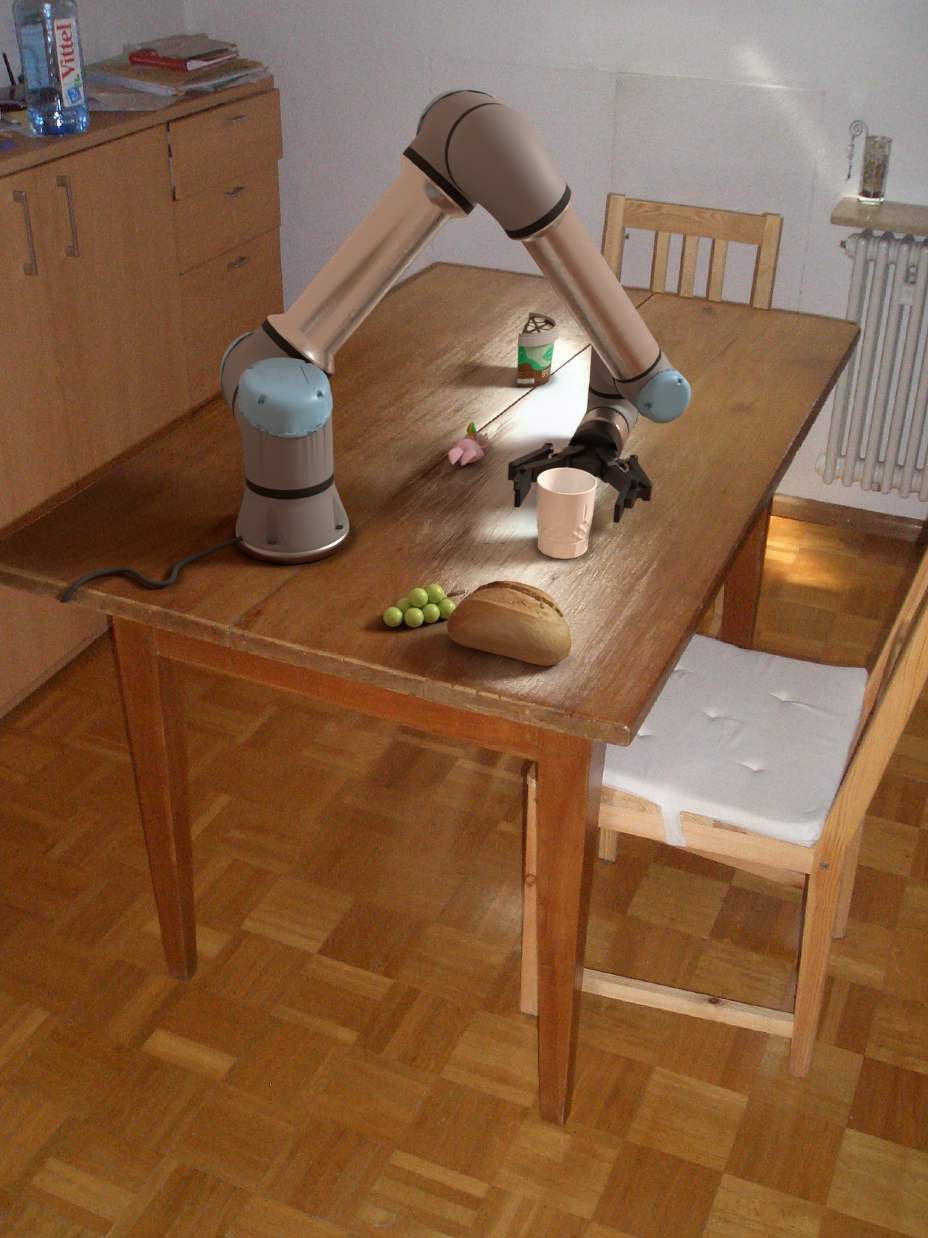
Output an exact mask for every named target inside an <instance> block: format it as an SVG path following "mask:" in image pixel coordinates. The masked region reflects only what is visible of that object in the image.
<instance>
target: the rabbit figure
mask: <svg viewBox="0 0 928 1238" xmlns="http://www.w3.org/2000/svg"><path fill="white" fill-rule="evenodd" d="M489 441H490V440H489V437H488V431H486V432H485V433H484V434H483V433H479V432H478V431H477V429H476V426H475V422H474V421H470V423H469V424H468V426H467V427H466V434H465V435H464V438H462V439H460V440H459V441H458V440H457V439H453V440H452V443H453V444H454V446H452V448H451V449H450V450H449V451H448V453H447V457H448V460H449V462H450V464H451V465H454V464H455V463H457V462H459V463H460V466H465V465H468V464H470V463H473V462H474V463H475V462H477V461H479V460H481V459H483V457H484V456H485V453H484V451H483V450H484V449H491V448H493V444H492V443H489V444H488V442H489Z"/></svg>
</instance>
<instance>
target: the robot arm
mask: <svg viewBox="0 0 928 1238" xmlns="http://www.w3.org/2000/svg"><path fill="white" fill-rule="evenodd" d="M572 200H573V191H572V190H571V188H570V186H569V185H568V183H567V182H566V180H565V179H564V176H563V175H562V173H561V171H560V170H559V168H558V166H557V164H556V163H555V161H554V159H553V157H552V155H551V154H550V152H549V151H548V149H547V147H546V145H545V143H544V142H543V140H542V139H541V137H540V135H539V133H538V132H537V130H536V129H535V128H534V126H533V125H532V123H531V122H530V121H529V119H528V118H527V117H526V116H525V115H523V114H522V113H520V112H519V111H517V110H516V109H514V108H512V107H510V106H508V105H506V104H505V103H503V102H501V101H500V100H499V99H497V98H496V97H494V96H493V95H492V94H490V93H487V92H485V91H483V90H480V89H474V88H467V87H458V88H451V89H448V90H446V91H443V92H442V93H440V94H438V95H437V96H435V97H434V98H433V99H432V100H430V101H429V103H428V104H427V105H426V106H425V108H424V109H423V110H422V112H421V114H420V116H419V119H418V122H417V125H416V132H415V137H414V139H413V140H411V142H410V143H409V145H408V146H407V147H406V149H405V150H404V151H403V152H402V153H401V154H400V174H399V176H397V178H396V179H395V180H394V182H393V183H392V184H391V185H390V186H389V188H388V189H387V190H386V191H385V192H384V193H383V195H382V196H381V197H380V199H378V201H377V202H376V204H375V205H374V206H373V207H372V209H371V210H369V212H368V213H367V214H366V215H365V217H364V218H363V219H362V221H361V222H360V223H359V224H358V225H357V226H356V228H355V229H354V230H353V231H352V232H351V233H350V234H349V236H348V237H347V238H346V240H344V242H343V243H342V244H341V246H340V247H339V248H338V249H337V251H335V253H334V254H333V255H332V257H330V259H329V260H328V261H327V263H326V264H325V265H324V266H323V267H322V269H321V270H320V271H319V272H318V273H317V274H316V276H315V277H314V278H313V279H312V280H311V282H310V283H309V284H308V285H307V287H306V288H305V289H304V290H303V291H302V293H301V294H300V295H299V296H298V298H296V300H295V301H294V303H293V304H292V305H291V306H290V307H289V308H288V310H287V311H286V312H284V313H278V314H276V313H275V314H269V315H268V316H267V317H266V318H265V320H263V322H262V323H260V325H259V326H258V328H257V329H256V330H253V331H248V332H245V333H243V334H242V335H240V336H238V337H237V338H235V339H234V340H233V341H232V342H231V343H230V345H229V346H228V347H227V349H226V351H225V352H224V354H223V356H222V359H221V362H220V366H219V380H220V381H219V382H220V387H221V393H222V397H223V399H224V401H225V403H226V405H227V406H228V407H229V409H230V412H231V414H232V416H233V418H234V421H235V423H236V425H237V427H238V429H239V432H240V435H241V441H242V452H243V465H244V475H245V490H244V494H243V497H242V501H241V504H240V508H239V512H238V516H237V519H236V524H235V537H233V538H231V539H229V540H227V541H224V542H222V543H219V544H217V545H215V546H212V547H210V548H208V549H205V550H202V551H199V552H197V553H194V554H192V555H189V556H187V557H185V558H183V559H182V560H180V561H178V562H177V563H176V564H175V565H174V566H173V568H172V570H171V573H170V577H169V578H168V579H166V580H161V581H155V580H151V579H150V578H148V577H146V576H145V575H143V574H142V573H141V572H140V571H137V570H136V569H134V568H131V567H126V566H124V567H110V568H104V569H99V570H95V571H92V572H89V573H87V574H85V575H83V576H82V577H80V578H79V579H78V580H76V582H75V583H73V584H72V585H71V587H69V589H68V590H67V592H65V594H64V595H63V596H62V598H61V600H60V604H65V603H67V602H69V600H70V599H71V597H72V596H73V595H74V594H75V593H76V592H77V590H79V588H80V587H81V586H83V585H84V584H86V582H88V581H89V580H91V579H94V578H97V577H100V576H105V575H109V574H110V575H112V574H121V573H123V574H129V575H132V576H133V577H135V578H137V579H138V580H139V581H140V582H141V583H143V584H145V585H147V586H149V587H152V588H164V587H168V586H171V585H173V584H174V583H175V582H176V579H177V576H178V573H179V570H180V569H181V568H183V567H184V566H186V565H187V564H190V563H192V562H194V561H196V560H199V559H202V558H205V557H207V556H210V555H212V554H214V553H216V552H220V551H221V550H224V549H226V548H229V547H231V546H234V545H235V544H237V546H238V548H239V549H240V550H241V551H242V552H243V553H244V554H246V555H248V556H250V557H252V558H254V559H256V560H260V561H261V562H262V561H263V562H267V563H273V564H283V565H294V564H295V565H296V564H307V563H311V562H316V561H319V560H323V559H326V558H328V557H331V556H332V555H335V554H336V553H338V552H339V551H342V549H343V548H344V547H345V546H346V545H347V544H348V542H349V540H350V536H351V535H350V532H351V531H350V530H351V529H350V520H349V517H348V514H347V512H346V510H345V507H344V505H343V502H342V499H341V497H340V494H339V492H338V489H337V487H336V485H335V466H334V465H335V464H334V437H333V436H334V435H333V409H334V407H333V406H334V401H333V400H334V399H333V394H332V391H331V385H330V379H331V377H332V376H333V375H334V374H335V372H336V369H335V356H336V354H337V353H338V352H339V350H340V349H341V348H342V347H343V346H344V345H345V344H346V343H347V341H348V340H349V339H350V338H351V336H352V335H353V334H354V333H355V332H356V331H357V329H359V327H360V326H361V325H362V324H363V322H364V321H365V320H366V318H368V316H369V315H370V314H371V313H372V312H373V311H374V309H375V308H376V307H377V306H378V304H379V303H380V302H381V301H382V299H384V297H386V296H387V294H388V293H389V292H390V290H391V289H393V287H394V286H395V284H397V282H398V281H399V280H400V278H401V277H402V276H403V275H404V274H405V273H406V271H408V269H409V268H410V267H411V265H412V264H413V263H414V262H415V261H416V260H417V259H418V258H419V256H420V255H421V254H422V252H423V251H424V250H425V249H426V248H427V247H428V245H429V244H430V243H431V242H432V241H433V240H434V239H435V238H436V236H437V235H438V234H439V232H440V231H442V229H443V228H444V227H445V226H446V224H448V222H449V221H450V220H453V219H465V218H467V217H468V216H469V215H470V214H471V213H472V211H473V210H474V209H475V208H476V207H477V206H478V205H480V206H481V208H482V209H484V210H485V211H486V212H488V213H489V214H490V216H492V218H493V219H494V220H495V221H496V222H497V223H498V224H499V226H500V227H501V228H502V230H503V231H504V232H505V234H506V236H507V237H508V238H509V239H510V240H512V241H519V242H521V243H522V245H523V246H524V248H525V249H526V251H527V252H528V253H529V255H530V256H531V258H532V259H533V261H534V262H535V263H536V265H537V267H538V269H540V271H541V273H542V275H544V277H545V278H546V280H547V281H548V283H549V284H550V286H551V287H552V289H553V290H554V292H555V293H556V294H557V296H558V297H559V299H560V300H561V302H562V303H563V306H565V308H566V309H567V311H568V312H569V313H570V315H571V317H572V318H573V320H574V321H575V322H576V324H577V325H578V327H579V328H580V330H581V331H582V333H583V335H584V336H585V337H586V338H587V340H588V341H589V343H590V347H591V348H590V366H589V383H588V389H587V401H586V410H585V413H584V415H583V417H582V419H581V421H580V423H578V425H577V427H576V429H575V431H574V433H573V434H572V436H571V438H570V440H569V442H568V445H567V446H566V447H564V448H562V449H558V448H555V447H554V443H553V442H545V443H544V444H543V445H542V446H541V447H540V448H538V449H535V450H533V451H531V452H528V453H526V454H524V455H522V456H520V457H518V458H516V459H513V460H511V461H509V462H508V464H507V480H508V481H509V482H512V483H513V484H512V485H513V486H512V490H513V492H514V496H513V497H514V498H513V508H517V509H519V508H520V507H521V506H522V504H523V502H524V500H525V498H526V497H527V495H528V494H529V492H530V490H531V489H532V484H533V483H537V477H538V476H539V475H540V474H541V473H542V472H544V471H546V470H550V469H554V468H574V469H579V470H582V471H585V472H588V473H590V474H591V475H593V476H594V477H595V478H596V479H597V478H598V479H599V480H600V481H601V482H602V483H604V484H609V485H610V486H611V487H612V488H613V489H615V490H616V491H617V492H618V493H619V494H618V496H617V498H616V501H615V503H614V509H613V520H612V523H615V524H619V523H620V522H621V519H622V516H623V514H624V512H625V509H629V510H631V509H633V508H634V506H635V503H636V502H637V500H638V499H641V501H644V502H650V501H651V499H652V493H653V492H652V491H653V482H652V481H651V480H650V479H651V478H649V476H648V475H647V473H646V472H645V470H644V469H643V468H642V466H641V464H640V463H639V456H638V455H637V454H630V455H629V457H627V458H621V455H622V452H623V451H624V449H625V446H626V444H627V442H628V439H629V437H630V435H631V433H632V431H633V429H635V425H636V424H638V420H639V415H641V416H642V417H644V418H646V419H648V420H649V421H651V422H653V423H656V424H668V423H672V422H673V421H676V420H677V419H678V418H680V417H681V416H682V415H683V414H684V413H685V412H686V410H687V409H688V407H689V405H690V402H691V399H692V389H691V385H690V383H689V381H688V380H687V379H686V377H684V376H683V373H682V372H681V371H680V370H677V369H676V368H674V366H673V365H672V363H671V362H670V361H669V359H668V358H667V356H666V354H665V353H664V352H663V350H662V349H661V347H660V346H659V344H658V342H657V340H656V338H655V337H654V335H653V334H652V332H651V330H650V329H649V328H648V326H647V324H646V323H645V321H644V320H643V318H642V316H641V315H640V313H639V311H638V310H637V308H636V307H635V305H634V304H633V302H632V301H631V298H630V297H629V296H628V294H627V292H626V290H625V289H624V288H623V286H622V285H621V283H620V282H619V280H618V279H617V277H616V275H615V273H614V272H613V270H612V269H611V268H610V266H609V264H608V262H607V261H606V260H605V258H604V256H603V255H602V253H601V251H600V250H599V248H598V247H597V245H596V244H595V242H594V240H593V239H592V237H591V236H590V234H589V232H588V231H587V229H586V228H585V226H584V224H583V223H582V221H581V219H580V218H579V216H578V214H577V213H576V212H575V210H574V208H573V207H572V206H571V204H572Z"/></svg>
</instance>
